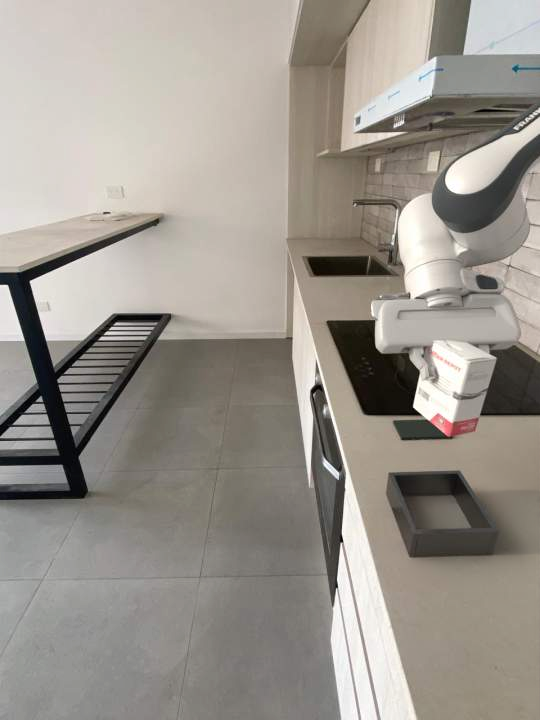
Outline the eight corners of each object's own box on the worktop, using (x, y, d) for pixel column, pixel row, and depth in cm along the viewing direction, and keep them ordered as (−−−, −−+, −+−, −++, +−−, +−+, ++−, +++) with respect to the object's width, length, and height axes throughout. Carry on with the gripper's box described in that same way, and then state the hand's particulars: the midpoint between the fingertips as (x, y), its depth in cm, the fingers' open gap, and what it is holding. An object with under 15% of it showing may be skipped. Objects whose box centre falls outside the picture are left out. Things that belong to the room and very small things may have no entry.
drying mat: (440, 421, 83) (440, 418, 83) (452, 438, 77) (452, 436, 77) (392, 422, 83) (392, 420, 83) (401, 440, 77) (401, 437, 77)
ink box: (478, 432, 56) (499, 356, 51) (448, 438, 55) (467, 361, 50) (437, 401, 63) (452, 332, 58) (411, 406, 62) (424, 336, 57)
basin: (455, 491, 65) (460, 470, 63) (492, 555, 54) (499, 531, 52) (385, 493, 65) (388, 472, 63) (409, 557, 54) (413, 533, 52)
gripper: (374, 284, 57) (386, 374, 53) (514, 279, 57) (539, 369, 53) (364, 304, 63) (375, 387, 59) (492, 299, 63) (512, 382, 59)
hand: (454, 378), depth 56 cm, fingers closed on ink box, 6 cm apart
